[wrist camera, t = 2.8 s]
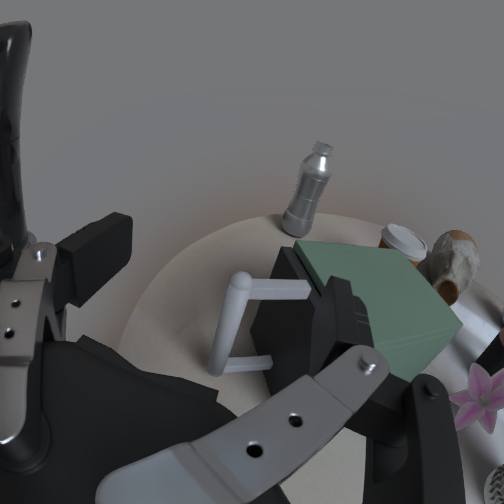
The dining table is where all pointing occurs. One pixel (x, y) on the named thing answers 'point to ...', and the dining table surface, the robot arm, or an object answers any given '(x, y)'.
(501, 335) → the travel mug
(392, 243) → the disposable coffee cup
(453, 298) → the amphora
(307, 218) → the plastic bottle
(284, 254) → the black drawer with handle
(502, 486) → the black and white cylinder
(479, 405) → the lily
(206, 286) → the dining table surface
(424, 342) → the green drawer cabinet
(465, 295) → the dining table surface
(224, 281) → the dining table surface
